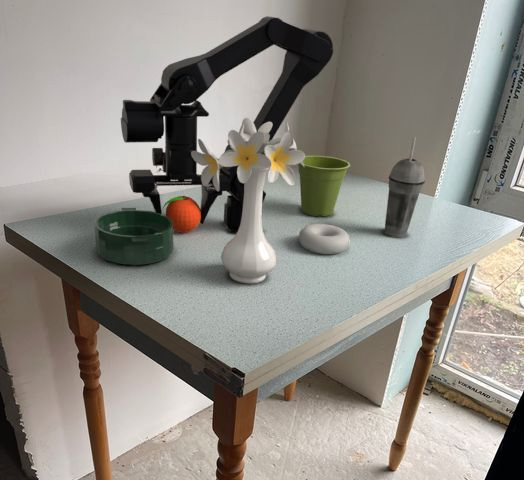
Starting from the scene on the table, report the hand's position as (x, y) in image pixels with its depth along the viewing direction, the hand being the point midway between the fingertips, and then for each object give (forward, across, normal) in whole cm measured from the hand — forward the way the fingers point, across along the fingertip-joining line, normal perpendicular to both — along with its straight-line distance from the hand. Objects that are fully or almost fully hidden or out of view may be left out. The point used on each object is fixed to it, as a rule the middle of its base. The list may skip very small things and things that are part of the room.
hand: (181, 224), depth 110 cm
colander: (+2, +10, +9) cm, 14 cm away
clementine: (+2, 0, 0) cm, 2 cm away
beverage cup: (+2, -45, +6) cm, 45 cm away
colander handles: (-3, +10, +9) cm, 14 cm away
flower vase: (+2, -7, +23) cm, 24 cm away
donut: (+2, -26, +11) cm, 28 cm away
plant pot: (+2, -33, -9) cm, 34 cm away
